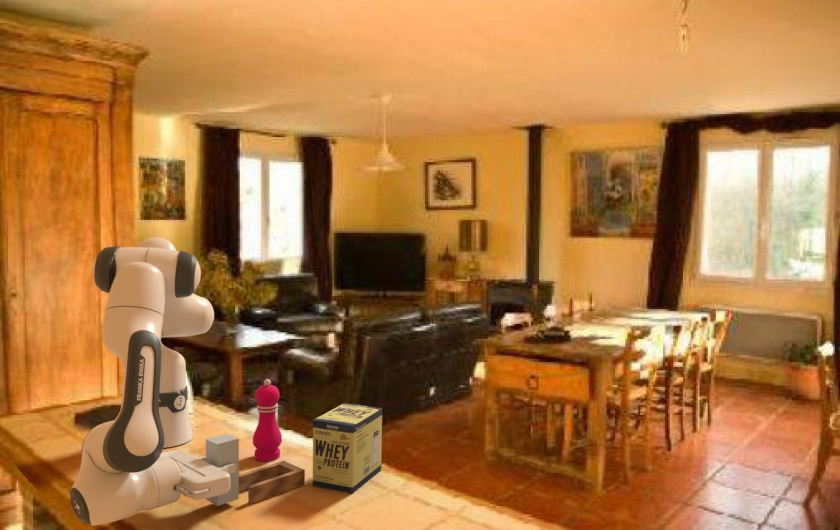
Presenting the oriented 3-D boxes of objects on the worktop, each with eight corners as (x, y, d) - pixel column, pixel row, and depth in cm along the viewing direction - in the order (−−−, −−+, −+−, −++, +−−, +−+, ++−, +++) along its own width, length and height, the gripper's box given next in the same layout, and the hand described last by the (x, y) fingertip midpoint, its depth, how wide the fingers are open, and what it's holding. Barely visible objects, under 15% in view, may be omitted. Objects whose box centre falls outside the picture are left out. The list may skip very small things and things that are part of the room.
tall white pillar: (217, 506, 136) (217, 444, 135) (205, 499, 139) (205, 439, 138) (238, 498, 139) (238, 438, 138) (227, 492, 142) (227, 433, 141)
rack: (251, 503, 140) (251, 487, 140) (230, 492, 145) (230, 477, 145) (304, 484, 150) (304, 469, 150) (283, 475, 155) (283, 460, 155)
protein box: (311, 486, 149) (311, 419, 148) (344, 463, 164) (344, 401, 163) (352, 494, 145) (353, 425, 144) (382, 470, 160) (383, 407, 159)
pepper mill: (274, 463, 163) (274, 383, 161) (247, 460, 164) (247, 381, 163) (286, 453, 170) (286, 376, 168) (260, 450, 171) (260, 374, 170)
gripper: (189, 481, 122) (254, 461, 132) (139, 452, 135) (201, 437, 146) (190, 514, 122) (254, 492, 132) (139, 482, 136) (201, 465, 146)
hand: (226, 463), depth 139 cm, fingers closed on tall white pillar, 4 cm apart
